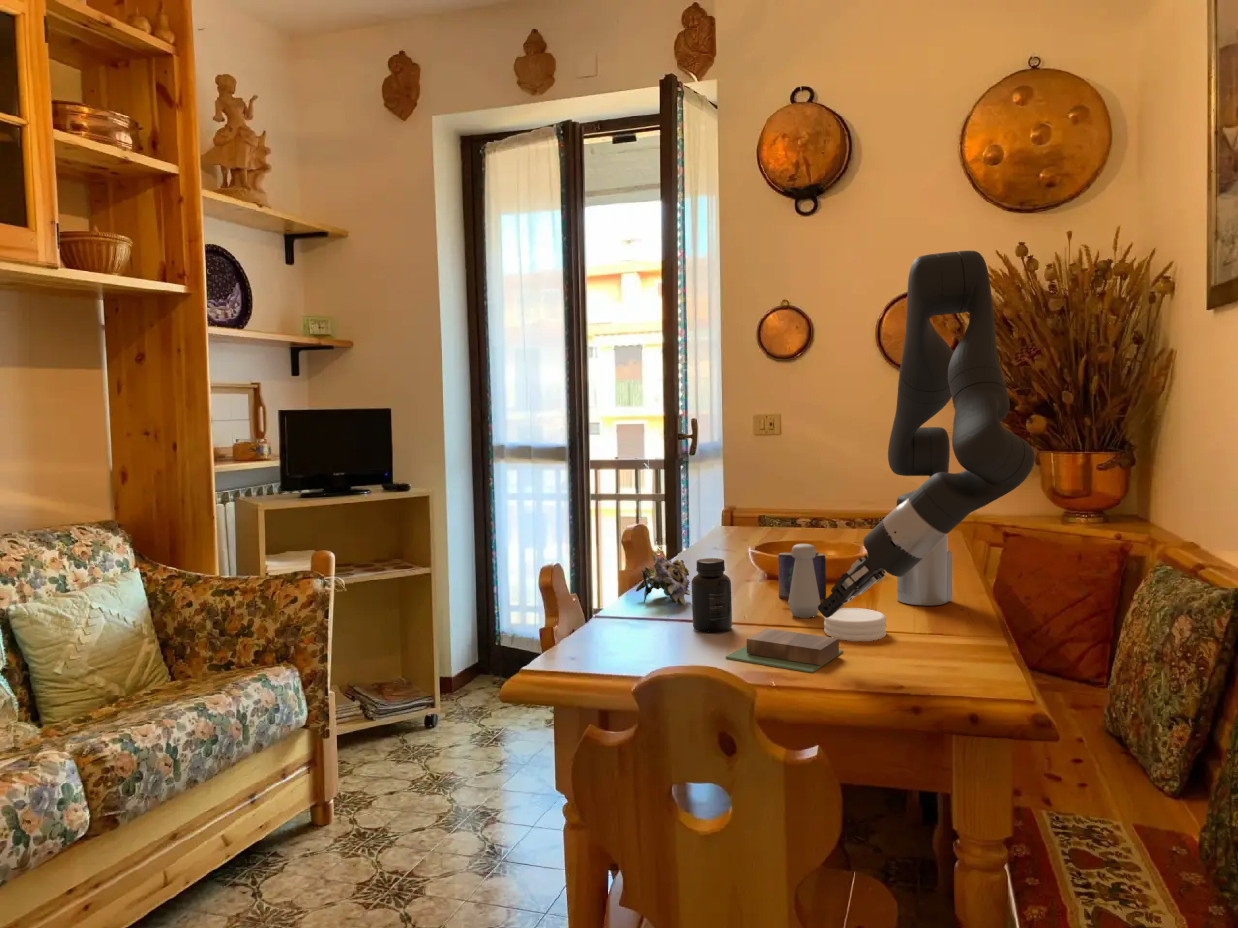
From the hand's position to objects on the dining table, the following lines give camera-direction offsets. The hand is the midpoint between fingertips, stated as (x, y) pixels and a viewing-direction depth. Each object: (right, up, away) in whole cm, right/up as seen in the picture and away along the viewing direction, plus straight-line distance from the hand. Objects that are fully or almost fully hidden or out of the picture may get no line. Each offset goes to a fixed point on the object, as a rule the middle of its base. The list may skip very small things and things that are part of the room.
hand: (823, 612), depth 129 cm
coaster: (+9, -7, +16) cm, 19 cm away
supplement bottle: (-14, -7, +21) cm, 26 cm away
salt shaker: (+3, -6, +28) cm, 29 cm away
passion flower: (-22, -6, +42) cm, 47 cm away
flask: (+6, -5, +42) cm, 43 cm away
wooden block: (+1, -6, 0) cm, 6 cm away
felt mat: (-5, -7, +4) cm, 10 cm away
